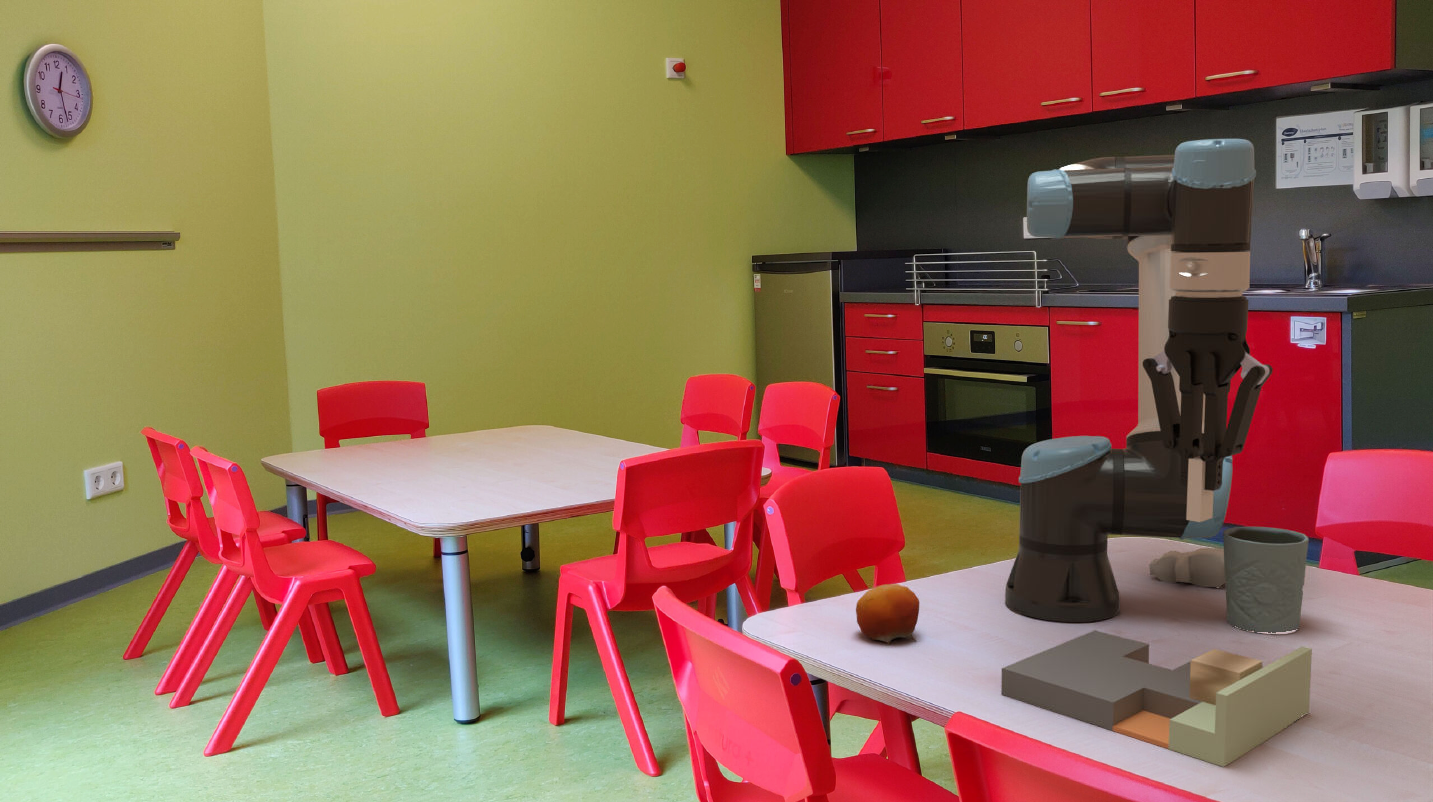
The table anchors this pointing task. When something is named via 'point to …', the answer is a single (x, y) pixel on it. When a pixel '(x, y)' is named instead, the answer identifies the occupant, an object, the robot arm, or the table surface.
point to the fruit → (888, 612)
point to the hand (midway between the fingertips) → (1199, 518)
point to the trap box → (1161, 696)
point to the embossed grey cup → (1264, 577)
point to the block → (1218, 673)
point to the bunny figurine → (1191, 567)
